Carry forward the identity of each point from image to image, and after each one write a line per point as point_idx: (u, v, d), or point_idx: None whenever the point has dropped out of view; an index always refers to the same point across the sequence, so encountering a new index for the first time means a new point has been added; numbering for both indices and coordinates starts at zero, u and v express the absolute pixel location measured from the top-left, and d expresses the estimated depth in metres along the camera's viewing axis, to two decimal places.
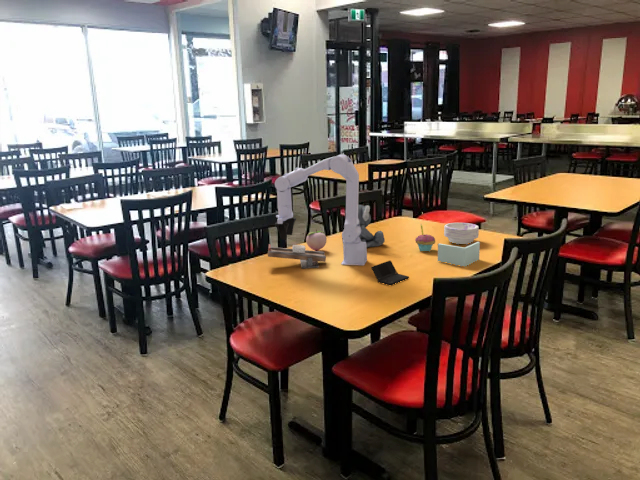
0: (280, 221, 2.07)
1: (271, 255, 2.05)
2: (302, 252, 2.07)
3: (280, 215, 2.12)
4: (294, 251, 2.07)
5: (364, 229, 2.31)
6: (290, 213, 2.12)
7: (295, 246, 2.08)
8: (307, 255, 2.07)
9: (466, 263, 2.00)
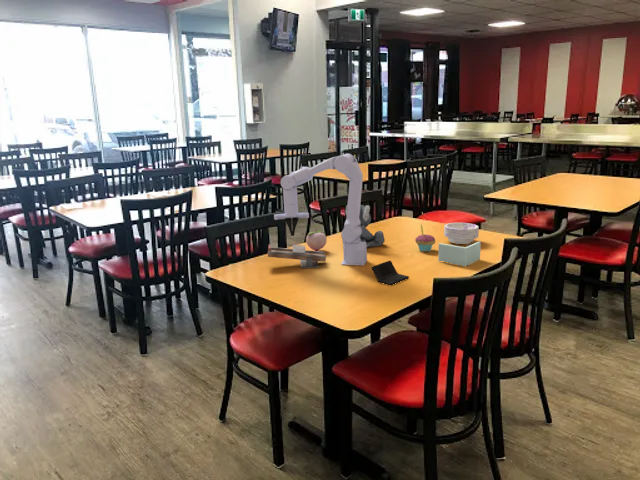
0: (274, 217, 2.15)
1: (271, 255, 2.05)
2: (302, 252, 2.07)
3: None
4: (294, 251, 2.07)
5: (364, 229, 2.31)
6: (289, 212, 2.12)
7: (295, 246, 2.08)
8: (307, 255, 2.07)
9: (467, 263, 2.01)
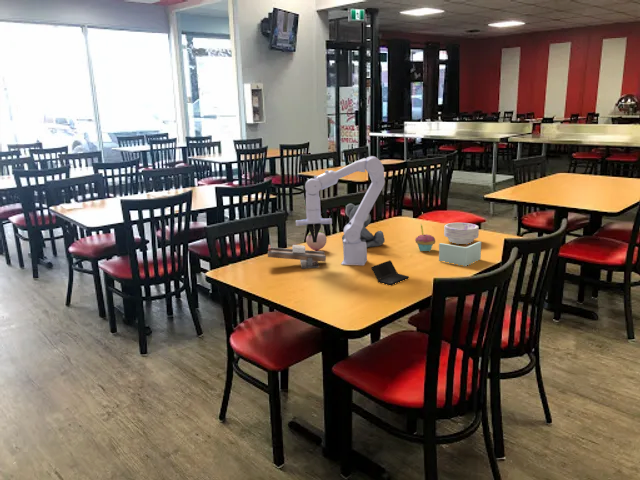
0: None
1: (271, 255, 2.05)
2: (302, 252, 2.07)
3: None
4: (294, 251, 2.07)
5: (364, 229, 2.31)
6: (311, 218, 2.04)
7: (295, 246, 2.08)
8: (307, 255, 2.07)
9: (467, 263, 2.01)
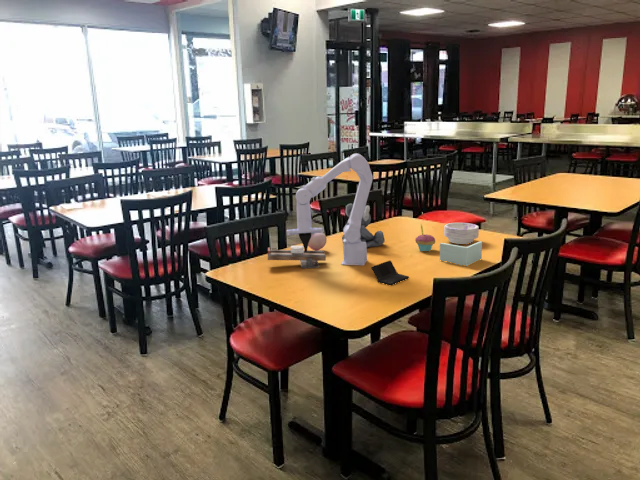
0: None
1: (271, 258, 2.05)
2: (301, 252, 2.07)
3: None
4: (292, 252, 2.07)
5: (364, 229, 2.31)
6: (302, 228, 2.04)
7: (293, 247, 2.08)
8: (307, 255, 2.07)
9: (468, 262, 2.01)
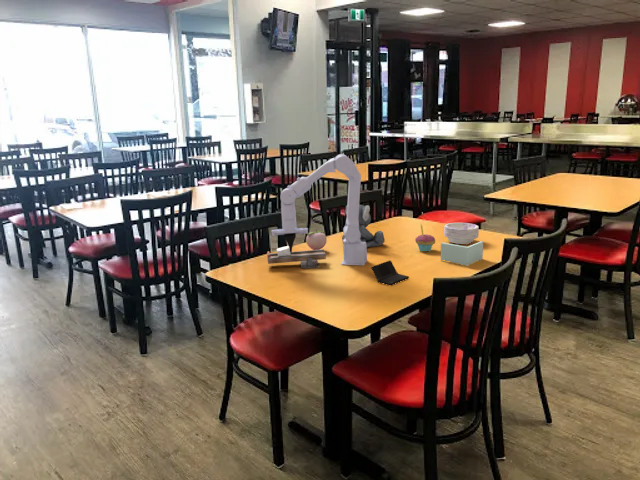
0: None
1: (271, 262, 2.06)
2: (287, 253, 2.07)
3: None
4: (279, 255, 2.07)
5: (364, 229, 2.31)
6: (287, 228, 2.04)
7: (279, 249, 2.08)
8: (306, 255, 2.07)
9: (469, 262, 2.01)
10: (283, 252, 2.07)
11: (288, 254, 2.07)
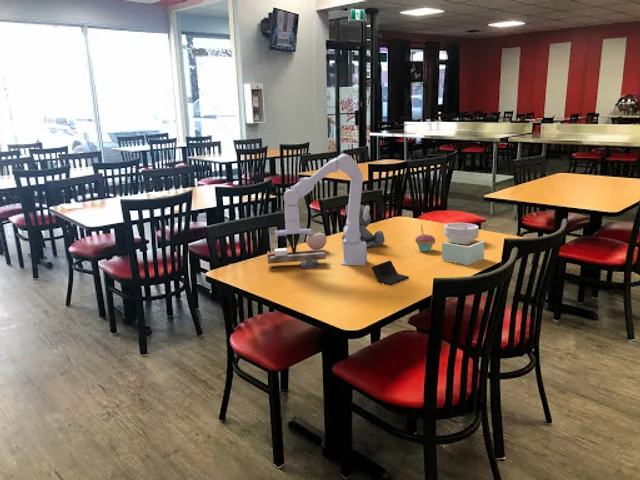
0: None
1: (271, 262, 2.06)
2: (284, 255, 2.07)
3: None
4: (276, 255, 2.07)
5: (364, 229, 2.31)
6: (290, 229, 2.04)
7: (276, 250, 2.08)
8: (306, 255, 2.07)
9: (470, 262, 2.02)
10: (280, 253, 2.07)
11: None
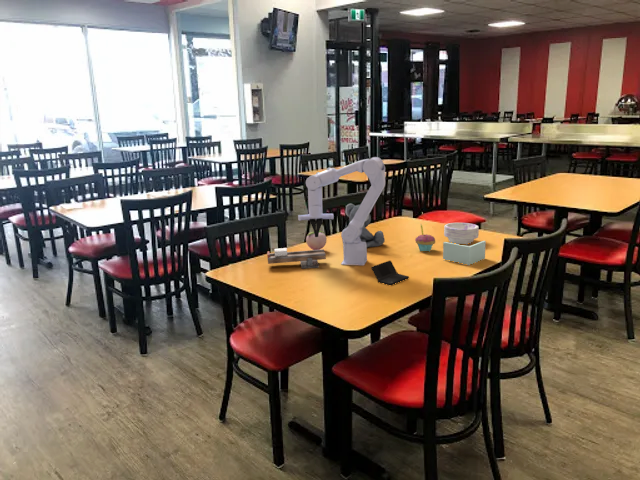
0: (298, 218, 2.11)
1: (271, 262, 2.06)
2: (284, 255, 2.07)
3: None
4: (276, 255, 2.07)
5: (364, 229, 2.31)
6: (313, 213, 2.09)
7: (276, 250, 2.08)
8: (306, 255, 2.07)
9: (471, 262, 2.02)
10: (280, 253, 2.07)
11: None
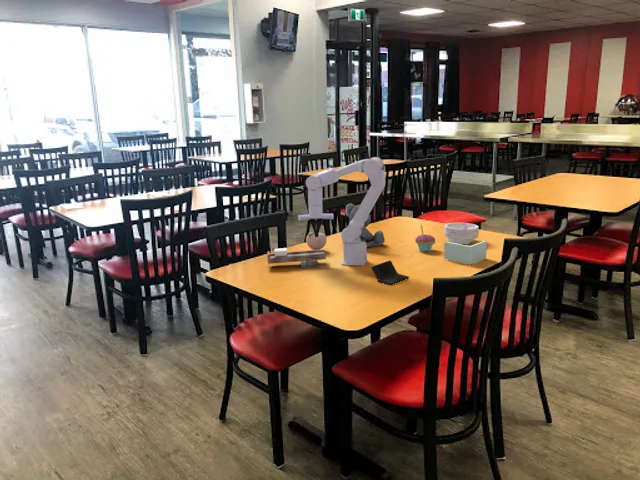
0: (298, 218, 2.11)
1: (271, 262, 2.06)
2: (284, 255, 2.07)
3: None
4: (276, 255, 2.07)
5: (364, 229, 2.31)
6: (313, 213, 2.09)
7: (276, 250, 2.08)
8: (306, 255, 2.07)
9: (472, 261, 2.02)
10: (280, 253, 2.07)
11: None
